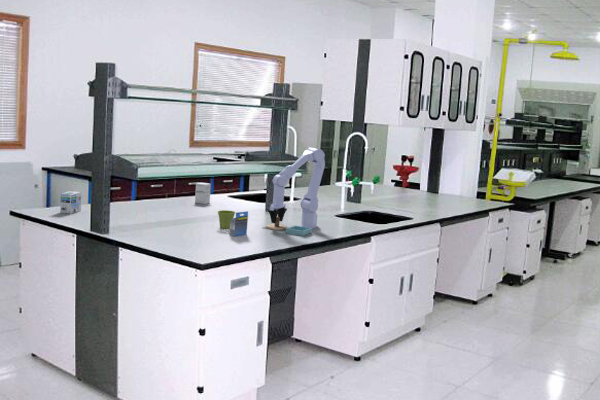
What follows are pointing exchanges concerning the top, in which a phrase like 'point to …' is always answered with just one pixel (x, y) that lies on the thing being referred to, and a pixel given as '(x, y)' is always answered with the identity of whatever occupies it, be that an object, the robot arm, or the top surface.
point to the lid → (276, 225)
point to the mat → (275, 230)
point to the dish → (299, 230)
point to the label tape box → (239, 224)
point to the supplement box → (202, 193)
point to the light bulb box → (70, 202)
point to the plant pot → (225, 218)
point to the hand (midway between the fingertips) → (276, 222)
